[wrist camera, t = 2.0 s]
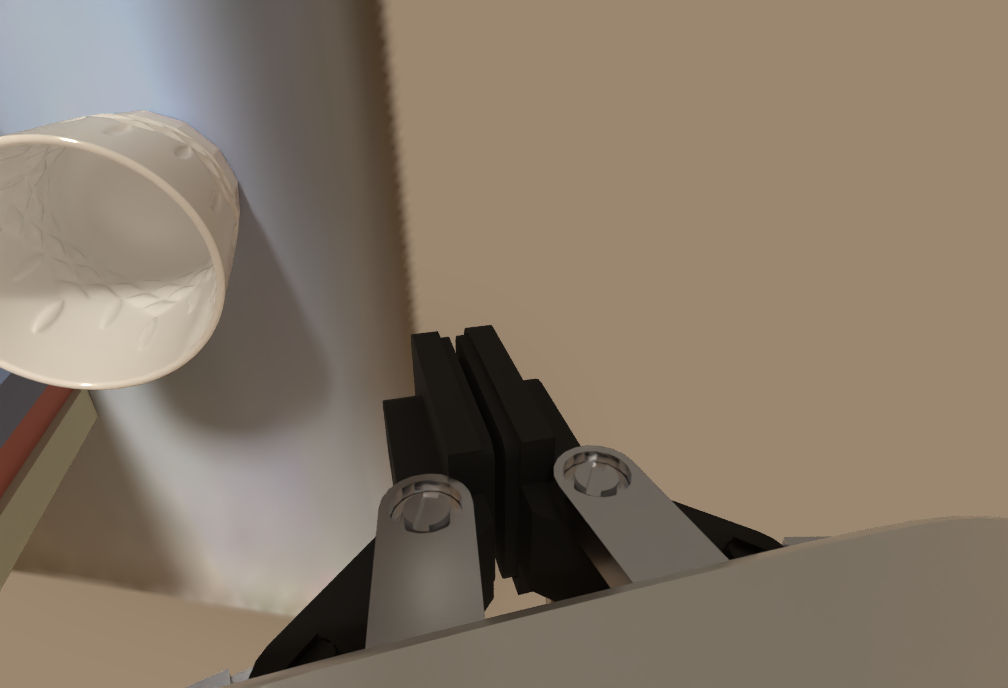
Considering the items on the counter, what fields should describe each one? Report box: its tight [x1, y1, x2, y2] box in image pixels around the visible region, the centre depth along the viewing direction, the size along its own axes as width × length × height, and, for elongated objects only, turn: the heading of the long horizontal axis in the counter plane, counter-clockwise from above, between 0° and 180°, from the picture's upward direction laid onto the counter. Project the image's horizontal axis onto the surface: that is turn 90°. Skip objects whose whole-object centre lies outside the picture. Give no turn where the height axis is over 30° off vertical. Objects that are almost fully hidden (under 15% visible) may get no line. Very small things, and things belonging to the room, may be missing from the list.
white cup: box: [0, 110, 240, 390], centre depth 21 cm, size 8×8×10 cm
